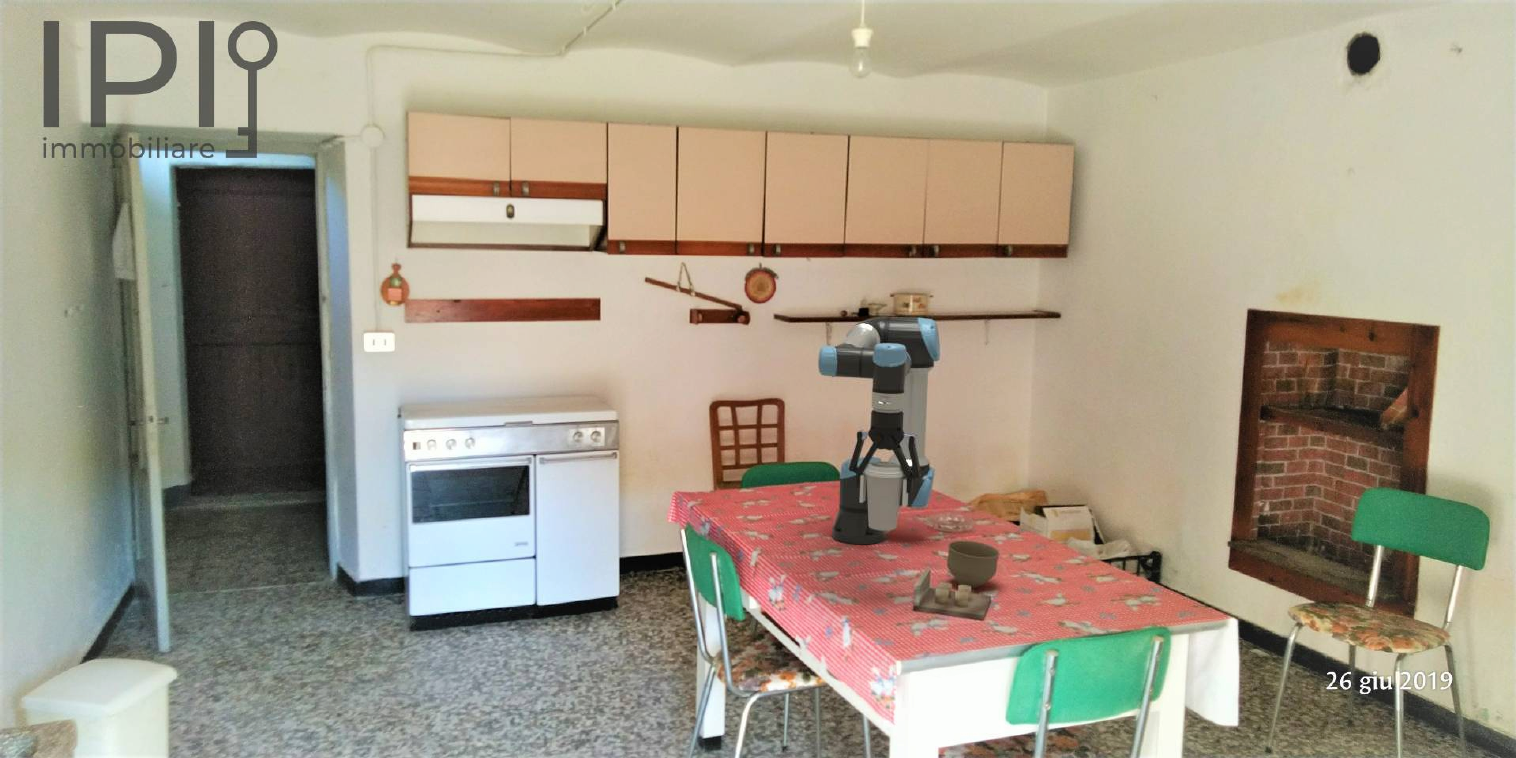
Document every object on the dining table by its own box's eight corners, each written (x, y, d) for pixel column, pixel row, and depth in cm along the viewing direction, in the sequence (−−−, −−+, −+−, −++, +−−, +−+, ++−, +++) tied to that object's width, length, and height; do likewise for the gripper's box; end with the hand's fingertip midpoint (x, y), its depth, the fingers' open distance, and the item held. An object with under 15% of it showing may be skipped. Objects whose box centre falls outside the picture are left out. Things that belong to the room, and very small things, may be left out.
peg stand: (913, 610, 235) (914, 585, 234) (924, 592, 248) (925, 568, 248) (983, 620, 230) (984, 594, 229) (990, 601, 243) (992, 576, 242)
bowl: (987, 597, 246) (989, 557, 244) (938, 587, 252) (940, 548, 251) (1004, 583, 256) (1006, 545, 255) (956, 574, 263) (958, 536, 262)
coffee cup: (858, 521, 244) (861, 460, 242) (897, 521, 245) (900, 460, 243) (866, 532, 235) (868, 468, 233) (906, 532, 235) (909, 469, 234)
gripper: (837, 408, 236) (833, 502, 239) (931, 416, 229) (927, 512, 232) (845, 404, 244) (842, 495, 246) (937, 411, 236) (933, 505, 239)
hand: (883, 503), depth 239 cm, fingers closed on coffee cup, 9 cm apart
